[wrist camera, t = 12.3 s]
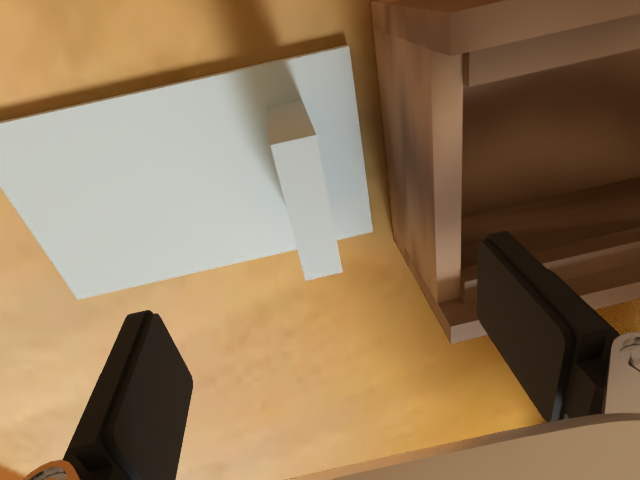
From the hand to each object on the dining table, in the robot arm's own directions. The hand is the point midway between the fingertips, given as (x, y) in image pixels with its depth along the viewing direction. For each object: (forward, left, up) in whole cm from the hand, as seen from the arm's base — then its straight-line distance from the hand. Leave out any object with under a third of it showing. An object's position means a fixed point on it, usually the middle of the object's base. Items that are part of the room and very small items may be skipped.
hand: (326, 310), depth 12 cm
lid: (+1, +5, -11) cm, 12 cm away
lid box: (+1, -14, -10) cm, 17 cm away
